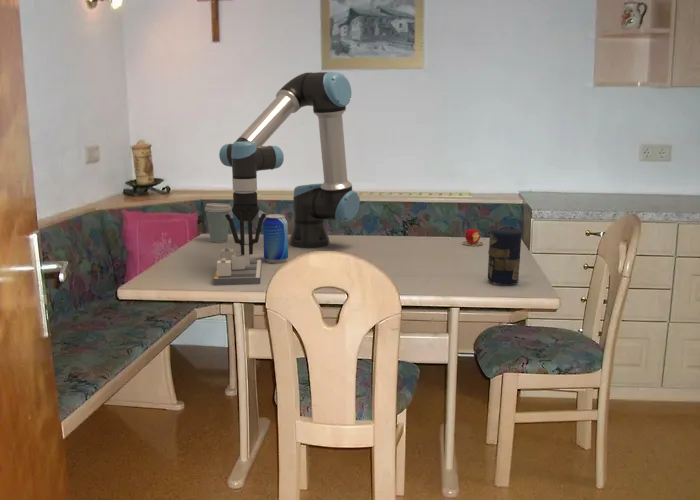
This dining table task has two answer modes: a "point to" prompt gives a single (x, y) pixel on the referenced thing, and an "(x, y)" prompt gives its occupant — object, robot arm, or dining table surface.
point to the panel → (236, 271)
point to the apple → (472, 238)
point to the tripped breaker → (238, 261)
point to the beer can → (275, 238)
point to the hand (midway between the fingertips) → (247, 264)
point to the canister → (504, 255)
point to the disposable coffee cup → (218, 221)
